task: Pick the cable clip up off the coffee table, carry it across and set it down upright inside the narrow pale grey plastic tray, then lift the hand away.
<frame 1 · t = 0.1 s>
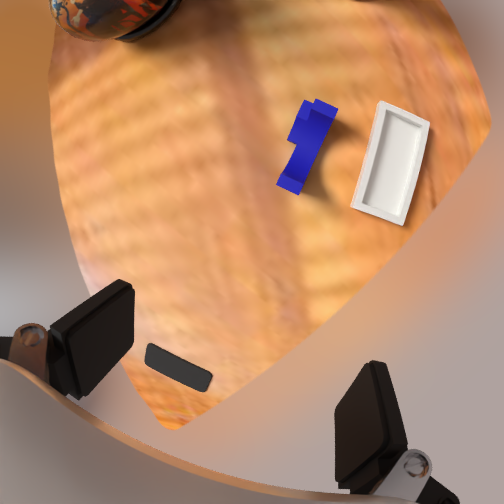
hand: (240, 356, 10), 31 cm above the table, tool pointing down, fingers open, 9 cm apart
amphora vase: (145, 9, 31), on the table
tray: (390, 162, 33), on the table
phone: (177, 366, 53), on the table
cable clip: (302, 147, 36), on the table
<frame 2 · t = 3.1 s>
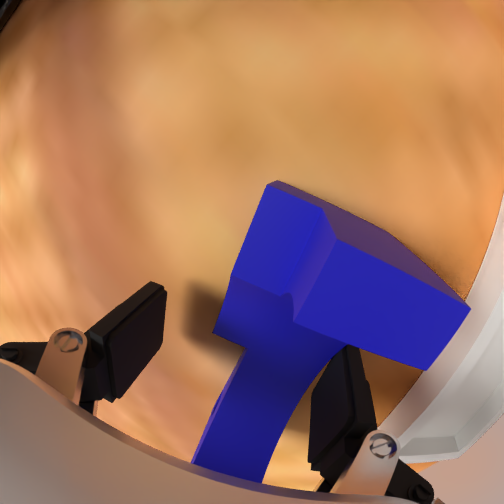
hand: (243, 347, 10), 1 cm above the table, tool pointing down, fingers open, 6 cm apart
amphora vase: (8, 1, 7), on the table
tray: (489, 349, 9), on the table
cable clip: (271, 332, 12), on the table, touching gripper
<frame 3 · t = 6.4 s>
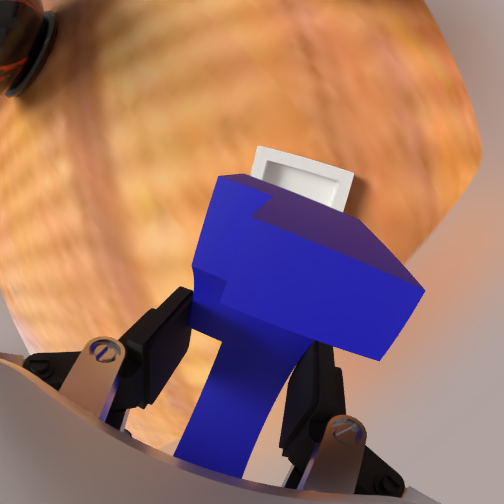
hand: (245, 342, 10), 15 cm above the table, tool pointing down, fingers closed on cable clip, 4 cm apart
amphora vase: (32, 54, 23), on the table
tray: (282, 245, 25), on the table
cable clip: (248, 326, 12), point 14 cm above the table, touching gripper
when the fingers open (3 cm above the table, at t = 9.5 s): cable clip drops 1 cm, resting on tray.
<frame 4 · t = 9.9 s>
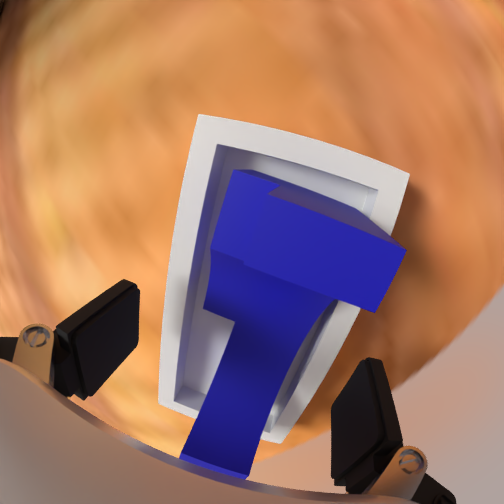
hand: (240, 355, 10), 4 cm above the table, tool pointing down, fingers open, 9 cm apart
tray: (257, 308, 13), on the table
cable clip: (258, 309, 13), resting on tray
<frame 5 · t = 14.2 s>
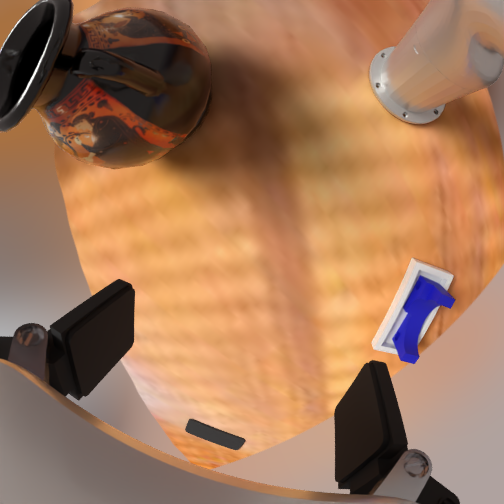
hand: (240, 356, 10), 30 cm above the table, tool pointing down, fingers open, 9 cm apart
amphora vase: (165, 101, 36), on the table
tray: (411, 308, 38), on the table
phone: (215, 433, 58), on the table
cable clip: (412, 310, 38), resting on tray
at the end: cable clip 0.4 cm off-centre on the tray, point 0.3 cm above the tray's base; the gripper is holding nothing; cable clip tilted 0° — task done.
